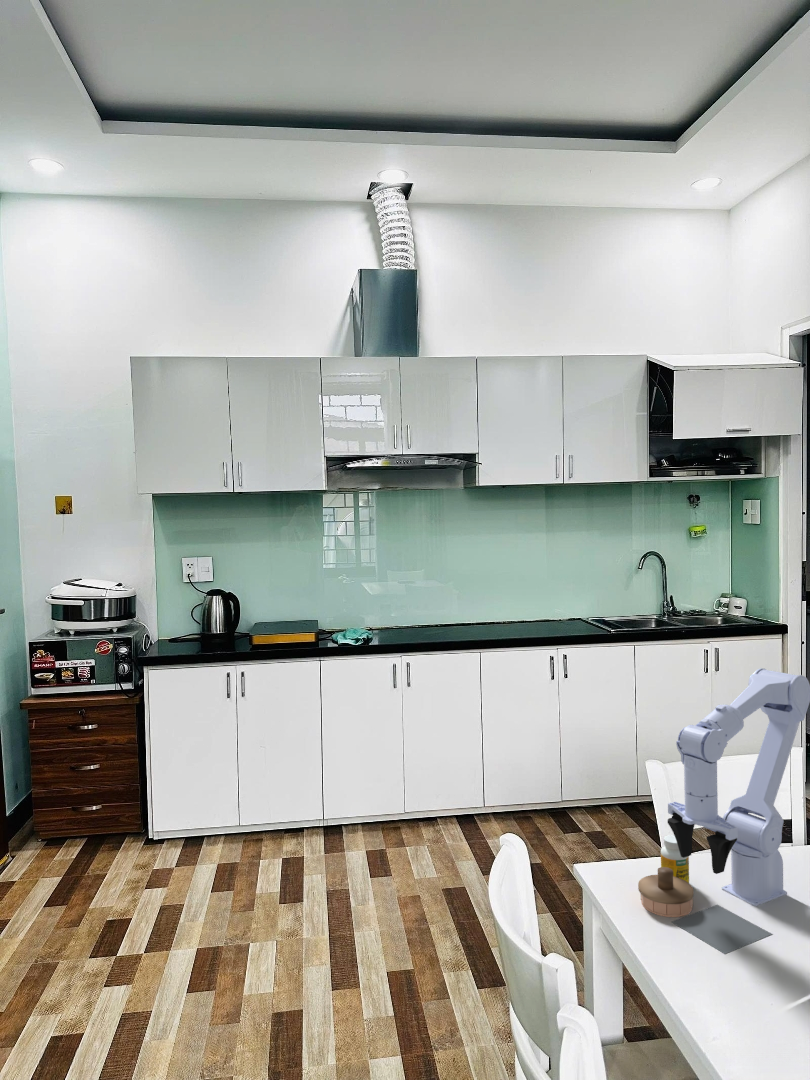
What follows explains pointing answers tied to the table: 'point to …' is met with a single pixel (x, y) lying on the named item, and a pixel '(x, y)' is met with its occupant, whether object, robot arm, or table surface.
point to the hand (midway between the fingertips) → (701, 863)
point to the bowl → (667, 908)
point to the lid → (665, 888)
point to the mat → (721, 928)
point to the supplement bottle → (674, 858)
